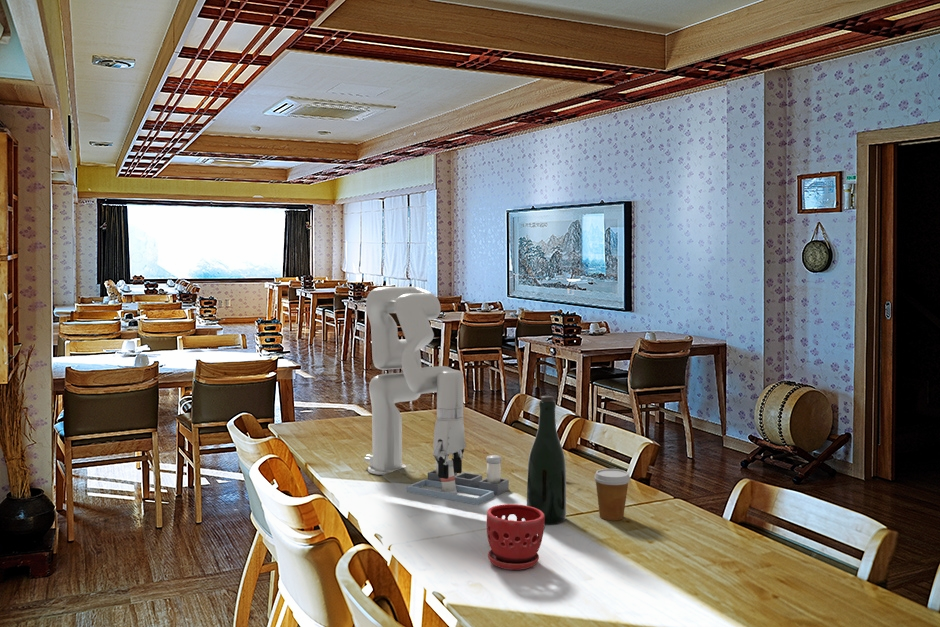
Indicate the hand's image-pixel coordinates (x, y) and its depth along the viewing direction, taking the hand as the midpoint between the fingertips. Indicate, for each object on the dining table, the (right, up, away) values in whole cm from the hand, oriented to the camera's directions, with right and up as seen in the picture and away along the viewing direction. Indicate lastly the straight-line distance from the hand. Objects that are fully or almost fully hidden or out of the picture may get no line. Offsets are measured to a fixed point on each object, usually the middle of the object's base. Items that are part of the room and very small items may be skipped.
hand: (450, 474), depth 234 cm
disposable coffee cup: (+44, -9, -15) cm, 47 cm away
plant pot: (+16, -11, -49) cm, 52 cm away
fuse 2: (+13, -5, +4) cm, 14 cm away
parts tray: (0, -7, 0) cm, 7 cm away
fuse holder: (+5, -7, +9) cm, 12 cm away
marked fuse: (0, -6, 0) cm, 6 cm away
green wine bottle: (+26, -9, -17) cm, 32 cm away
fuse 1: (-3, -5, +13) cm, 14 cm away
